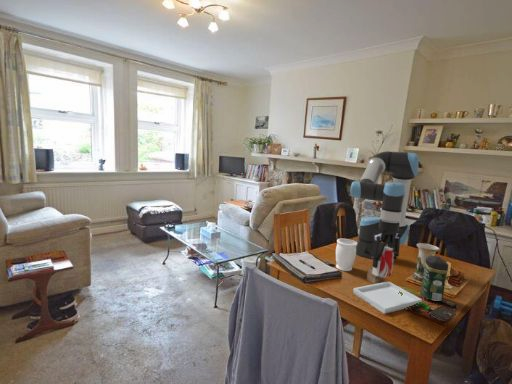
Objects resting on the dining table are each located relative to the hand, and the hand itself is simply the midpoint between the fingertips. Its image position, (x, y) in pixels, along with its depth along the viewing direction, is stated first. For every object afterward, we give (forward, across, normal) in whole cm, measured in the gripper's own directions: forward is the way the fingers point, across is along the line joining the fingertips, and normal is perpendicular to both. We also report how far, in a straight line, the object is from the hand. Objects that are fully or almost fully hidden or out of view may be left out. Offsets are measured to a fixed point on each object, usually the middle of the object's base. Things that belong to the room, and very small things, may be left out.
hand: (381, 273), depth 120 cm
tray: (+12, -5, 0) cm, 13 cm away
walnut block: (+12, -13, -14) cm, 23 cm away
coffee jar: (+12, -26, +6) cm, 30 cm away
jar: (+12, -9, -31) cm, 35 cm away
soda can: (+1, 0, 0) cm, 1 cm away
